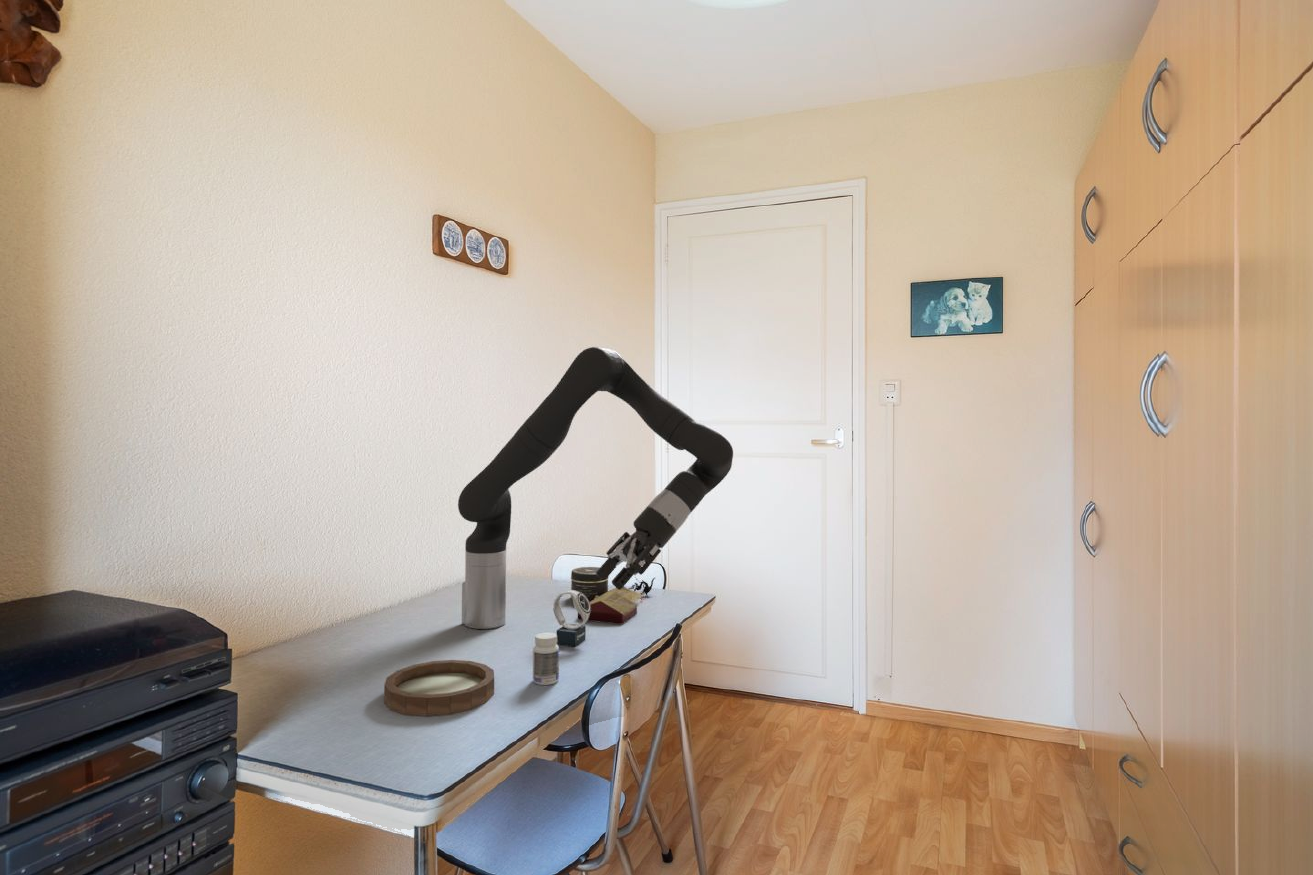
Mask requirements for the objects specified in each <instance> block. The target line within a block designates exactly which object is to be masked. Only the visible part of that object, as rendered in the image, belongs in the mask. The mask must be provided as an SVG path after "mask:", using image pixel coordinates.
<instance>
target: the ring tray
mask: <svg viewBox="0 0 1313 875" xmlns="http://www.w3.org/2000/svg"><path fill="white" fill-rule="evenodd" d="M383 693H384V694H383V695H384V696H383V699H384V705H386V707H388V709H389V710H391V711H393V712H396V713H400V714H403V715H405V714H408V715H407V716H416V715H419V716H418V717H435V715H437V716H445V715H453V714H454V715H455V714H457V713H461V712H465V711H470V710H473V709H475V708H477V707H479V706H481V705H484V704H486V703H487V702H488V701H490V700H491V698H493V697H494V695H495V672H494V669H493V668H491V667H490V666H488V665H487V664H486V663H485V664H484V663H480V662H477V661H473V660H463V659H448V660H447V659H446V660H445V659H444V660H443V659H442V660H431V661H426V662H421V663H417V664H416V663H415V664H412V665H410V666H406V667H403V668H401V669H398V670H395V671H394V672H393V673H392V674H390V675H389V676H387V677H386V678H385V682H384V692H383ZM420 715H421V716H420Z"/></svg>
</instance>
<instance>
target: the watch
mask: <svg viewBox="0 0 1313 875" xmlns="http://www.w3.org/2000/svg"><path fill="white" fill-rule="evenodd" d="M563 595H570V597H571V598H572V602H573V606H574V609H575V611H576V612H577V614H578V613H579V614H580V615H581V617H582V619H583V620H582V621H581V623H580V624H576V623H568V622H567V621H566V617H565V616H564V614H563V611H562V607H561V606H560V605H561V604H560V600H561V598H562V597H563ZM552 610H553V614H554V617H555V619H556V621H557V623H558V624H559V625H560V626H561V627H559V628H558V629H556V635H557V645H558V646H563V647H570V648H571V647H572V648H576V647H577V646H579V645H580V644H582V643H583V642H584V641H586V633H587V632H586V631H587V630H586V628H587V627H586V626H587V625H585V624H586V623H587V622H588V621H589V620H588V618H589V615H590V612H591V606H590V603H589V600H588V599H587V597H586V596H585V595H584V594H583V593H580V592H578V591H575V590H571V589H570V590H569V589H568V590H566V591H564V592H562V593H560V594H558V595H557V597H556V598H555V599H554V601H553V608H552Z"/></svg>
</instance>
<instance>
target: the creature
mask: <svg viewBox="0 0 1313 875" xmlns="http://www.w3.org/2000/svg"><path fill="white" fill-rule="evenodd" d="M634 577H635V580H636V581H638V578H637V577H636V576H634ZM655 579H656V577H653V578H652V580H651V583H650V585H649V583H648V582H646V581H645V580H643V579H641V581H638V582H634V584H632V585H631V587H628V588H627V589H629V590H633V591H635V592H637V591H641V592H640V594H642V595H643V594H644V595H648V593H649V592H651V591H652V588H653V584H654V580H655ZM642 588H643V589H642ZM642 590H643V591H642Z"/></svg>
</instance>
